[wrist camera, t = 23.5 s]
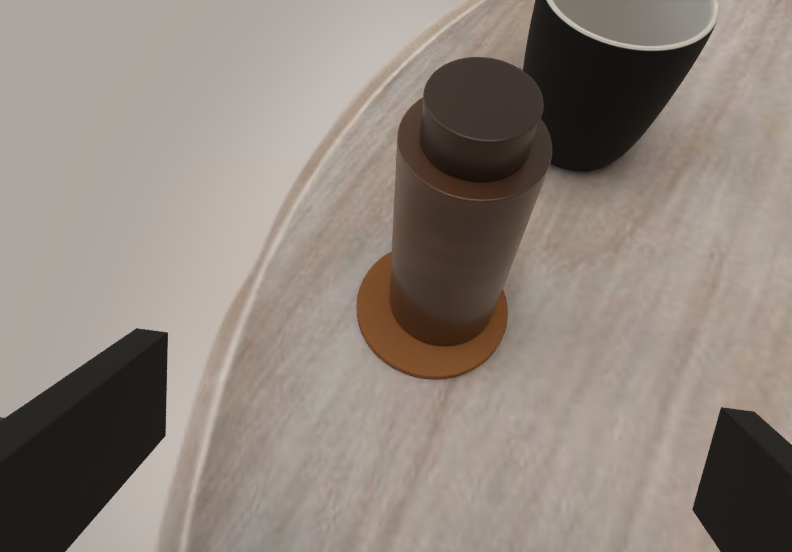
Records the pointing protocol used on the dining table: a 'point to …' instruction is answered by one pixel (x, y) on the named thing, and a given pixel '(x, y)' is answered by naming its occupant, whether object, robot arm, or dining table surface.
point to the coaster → (408, 350)
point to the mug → (610, 69)
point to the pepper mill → (464, 195)
